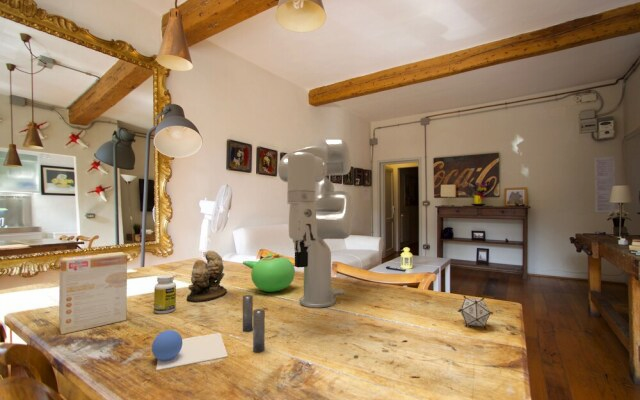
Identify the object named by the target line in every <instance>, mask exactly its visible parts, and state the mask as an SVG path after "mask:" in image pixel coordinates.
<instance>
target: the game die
mask: <svg viewBox="0 0 640 400" xmlns="http://www.w3.org/2000/svg"><path fill="white" fill-rule="evenodd" d="M463 298H464V300H463V302H462V305H461V308H458V309H457V312H458V313H460V314H461V317H462V318H463V321H464V322H465V325H464V327H465V328H467V327H468V326H474V327H475V326H476V327H483V328H484V330H487V326H486V325H487V322H488V320H489V318H490V315H492V314H494V312H493V311H490V309H489V308H488V305H486V303H485V301H484V300H485V296H483V297H482V298H471V297H470V298H469V297H467V296H466V295H463Z"/></svg>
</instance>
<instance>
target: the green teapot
mask: <svg viewBox="0 0 640 400" xmlns="http://www.w3.org/2000/svg"><path fill="white" fill-rule="evenodd" d="M242 264H243V265H244V266H246V267H248V268H250V269H251V274H250V275H251V281H252V283H253V285H254V286H255V287H256V288H258V289H259V290H260V291H263V292H268V293H273V292H279V291H282V290H284V289H286V288H287V287H289V286H290V285H291V283H292V282H293V281H294V278H295V276H296V275H295V273H296V272H295V271H296V270H295V265H294V264H293V262H292V261H291V260H290V259H288V258H287V257H285V256H282V255H280V254H274V255H273V253H272V252H268V253H267V254H266V256H265V257H263V258H261V259H259V260H258V261H254V260H253V261H251V260H243V262H242Z"/></svg>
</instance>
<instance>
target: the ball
mask: <svg viewBox="0 0 640 400" xmlns="http://www.w3.org/2000/svg"><path fill="white" fill-rule="evenodd" d="M182 339H183V337H182V336H181V333H180V332H177V330H173V329H172V330H171V329H169V330H164V331H162V332H160V333H159V334H157V336H155V338H154V339H153V342H152V344H151V351H152V355H153V356H154V358H155V359H157V360H158V359H159V360H162V361H166V360H170V359H172V358H174V357H175V356H177V355H178V353H179V352H180V350H181V348H182Z"/></svg>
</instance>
